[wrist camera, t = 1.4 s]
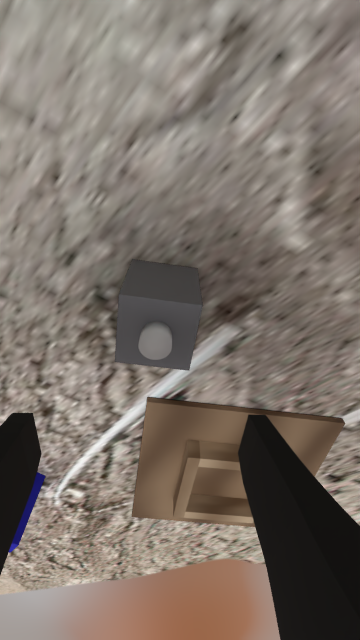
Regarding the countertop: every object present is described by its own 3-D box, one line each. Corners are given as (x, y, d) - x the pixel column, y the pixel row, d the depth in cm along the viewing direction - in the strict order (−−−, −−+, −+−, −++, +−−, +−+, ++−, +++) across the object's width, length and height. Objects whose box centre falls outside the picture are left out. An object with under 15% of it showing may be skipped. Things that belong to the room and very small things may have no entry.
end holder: (342, 418, 26) (355, 440, 24) (282, 524, 34) (288, 547, 32) (147, 397, 25) (144, 418, 23) (132, 511, 33) (129, 535, 31)
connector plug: (197, 268, 20) (204, 315, 14) (187, 323, 22) (189, 382, 16) (132, 258, 19) (115, 304, 14) (128, 315, 21) (111, 374, 16)
